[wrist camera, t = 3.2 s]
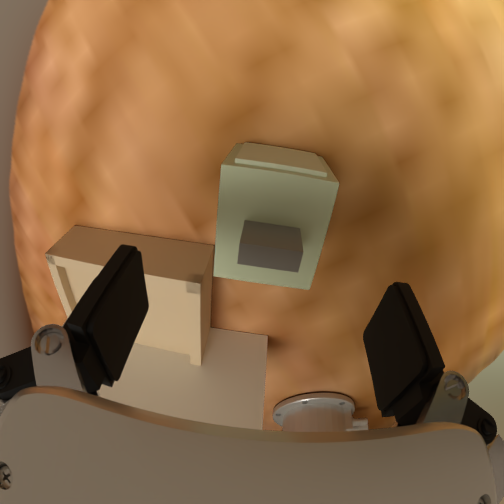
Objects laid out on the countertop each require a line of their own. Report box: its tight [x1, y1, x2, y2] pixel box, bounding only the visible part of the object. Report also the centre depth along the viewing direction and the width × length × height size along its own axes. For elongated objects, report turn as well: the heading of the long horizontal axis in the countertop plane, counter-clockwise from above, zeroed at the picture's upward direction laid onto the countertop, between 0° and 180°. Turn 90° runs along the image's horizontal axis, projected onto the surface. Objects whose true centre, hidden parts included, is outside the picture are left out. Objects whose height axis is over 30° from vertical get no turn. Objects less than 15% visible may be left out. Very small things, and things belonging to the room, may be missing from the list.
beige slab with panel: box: [45, 225, 268, 430], centre depth 20 cm, size 22×12×14 cm, turn 83°
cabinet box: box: [213, 142, 339, 290], centre depth 17 cm, size 6×7×8 cm
